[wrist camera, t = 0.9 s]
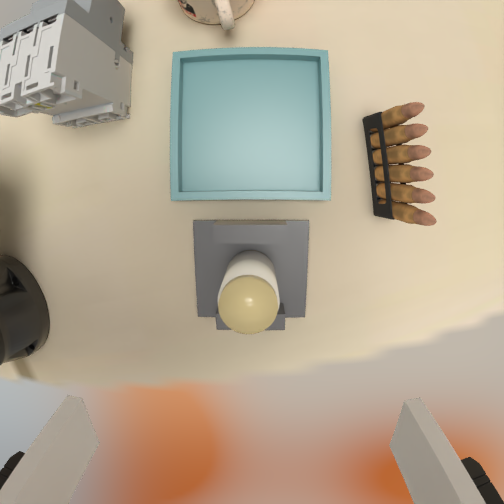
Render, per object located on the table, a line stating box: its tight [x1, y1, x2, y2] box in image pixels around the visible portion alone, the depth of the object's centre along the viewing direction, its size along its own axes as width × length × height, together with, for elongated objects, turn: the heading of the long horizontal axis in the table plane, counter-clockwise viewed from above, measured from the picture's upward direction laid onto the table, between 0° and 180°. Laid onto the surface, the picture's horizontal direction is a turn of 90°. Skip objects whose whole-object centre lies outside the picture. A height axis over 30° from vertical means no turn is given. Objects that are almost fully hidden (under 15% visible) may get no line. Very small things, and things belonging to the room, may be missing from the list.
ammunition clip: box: [363, 102, 436, 226], centre depth 26 cm, size 11×2×12 cm, turn 8°
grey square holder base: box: [193, 220, 309, 330], centre depth 33 cm, size 12×11×4 cm
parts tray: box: [170, 47, 331, 201], centre depth 30 cm, size 16×16×2 cm
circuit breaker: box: [0, 0, 133, 128], centre depth 23 cm, size 8×14×15 cm, turn 1°
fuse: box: [218, 250, 280, 334], centre depth 30 cm, size 5×5×10 cm
